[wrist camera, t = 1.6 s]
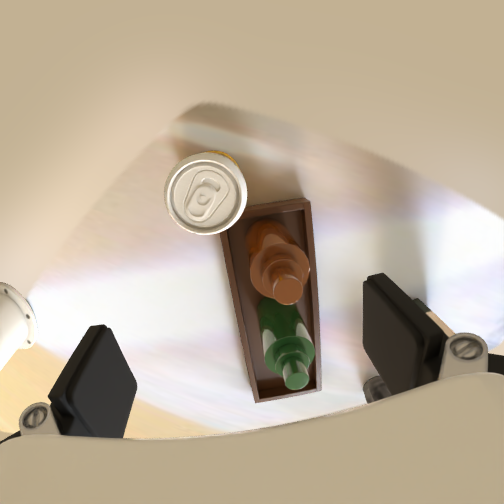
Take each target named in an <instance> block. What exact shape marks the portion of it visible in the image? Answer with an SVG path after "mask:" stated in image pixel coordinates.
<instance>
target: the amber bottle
mask: <svg viewBox="0 0 504 504" xmlns="http://www.w3.org/2000/svg"><path fill="white" fill-rule="evenodd" d="M244 242H245V249H246V254H247V260H248V266H249V272H250V277H251V281H252V284H253V285H254V287H255V288H256V290H257V291H258V292H260V293H261V294H262V295H264V296H266V297H269V298H274V299H276V301H277V302H279V303H281V304H284V305H290V304H293V303H295V302H297V301H298V300H299V299H300V298H301V296H302V293H303V286H304V285H305V283H306V282H307V279H308V277H309V272H310V266H309V261H308V259H307V257H306V255H305V254H304V252H303V251H302V249H301V248H300V246H299V245H298V243H297V242H296V241H295V239H294V238H293V236H292V235H291V233H290V232H289V230H288V229H287V228H286V226H285V225H284V224H283V223H282V222H281V221H279V220H277V219H274V218H261V219H258V220H256V221H255V222H253V223H252V224H251V225H250V226H249V227H248V229H247V231H246V233H245V238H244Z"/></svg>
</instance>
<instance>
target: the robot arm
mask: <svg viewBox="0 0 504 504" xmlns="http://www.w3.org/2000/svg"><path fill="white" fill-rule="evenodd" d="M37 334H38V328H37V322H36V318H35V316H34V313H33V311H32V309H31V308H30V306H29V304H28V303H27V301H26V300H25V298H24V297H23V296H22V295H21V294H20V293H19V292H18V291H17V290H16V289H14V288H13V287H12V286H10V285H8V284H6V283H3V282H0V371H1V369H2V368H3V367H4V365H5V364H6V363H7V361H8V360H9V359H10V358H11V356H12V355H13V354H14V353H15V351H16V350H17V349H27V348H29V347H31V346H32V345H33V343H34V342H35V341H36V338H37ZM363 346H364V349H365V351H366V353H367V355H368V356H369V358H370V359H371V361H372V363H373V364H374V366H375V368H376V369H377V371H378V373H379V375H380V376H381V378H382V380H383V381H384V383H385V385H386V386H387V388H388V390H389V392H390V393H391V395H392V396H390V397H387V398H384V399H381V400H378V401H375V402H372V403H368V404H365V405H361V406H358V407H354V408H351V409H347V410H344V411H340V412H336V413H332V414H328V415H324V416H320V417H316V418H312V419H307V420H303V421H298V422H293V423H288V424H283V425H277V426H272V427H266V428H260V429H254V430H247V431H240V432H232V433H224V434H214V435H204V436H191V437H175V438H123V436H124V432H125V428H126V425H127V421H128V418H129V414H130V411H131V407H132V404H133V401H134V397H135V394H136V391H137V382H136V380H135V378H134V376H133V374H132V372H131V370H130V368H129V366H128V364H127V362H126V360H125V358H124V356H123V354H122V352H121V349H120V347H119V345H118V343H117V341H116V339H115V337H114V334H113V332H112V330H111V329H110V328H107V326H106V325H104V324H103V325H95V326H90V327H89V329H88V330H87V332H86V333H85V335H84V337H83V338H82V340H81V341H80V343H79V344H78V346H77V348H76V349H75V351H74V352H73V354H72V356H71V357H70V359H69V361H68V362H67V364H66V366H65V367H64V369H63V371H62V372H61V374H60V376H59V377H58V379H57V381H56V382H55V384H54V386H53V388H52V389H51V391H50V393H49V395H48V398H49V399H50V401H51V402H52V403H51V405H50V406H49V405H48V404H46V403H43V402H39V403H35V404H32V405H30V406H29V407H27V408H26V409H25V410H24V411H23V413H22V414H21V416H20V419H19V427H20V431H18V432H16V433H14V434H13V435H11V436H9V437H7V438H6V439H4V440H2V441H0V504H504V356H502V355H495V354H489V353H488V347H487V344H486V342H485V341H484V340H483V339H482V338H481V337H479V336H477V335H475V334H471V333H458V334H455V335H453V336H451V337H450V338H449V337H448V336H447V335H446V334H445V333H444V331H443V330H442V329H441V328H440V327H439V326H438V325H437V324H436V323H435V322H434V321H433V320H432V319H431V318H430V317H429V316H428V315H427V314H426V313H425V312H424V311H423V310H422V309H421V308H420V307H419V306H418V305H417V304H416V303H415V302H414V301H413V300H412V299H411V298H410V297H409V296H408V295H407V294H406V293H405V292H403V291H402V290H401V289H400V288H399V287H398V286H397V285H396V284H395V283H394V282H393V281H392V280H391V279H390V278H388V277H387V276H386V275H385V274H384V273H379V274H375V275H371V276H368V277H367V281H364V282H363Z"/></svg>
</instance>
